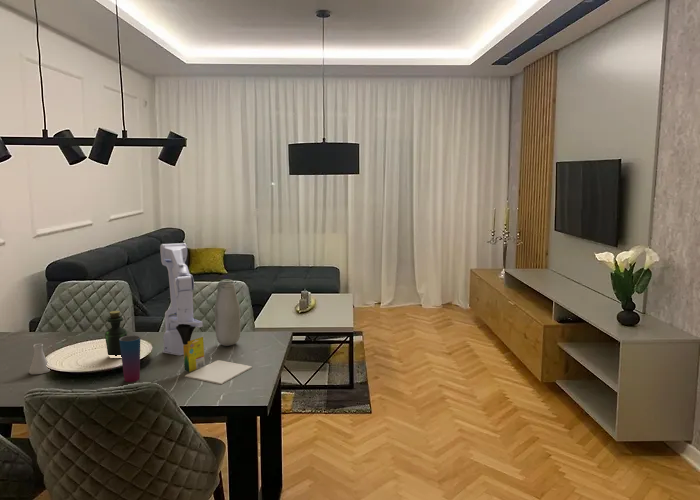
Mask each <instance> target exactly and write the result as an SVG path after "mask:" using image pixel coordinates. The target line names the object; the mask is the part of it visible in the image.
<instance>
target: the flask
mask: <svg viewBox="0 0 700 500" xmlns="http://www.w3.org/2000/svg"><path fill="white" fill-rule="evenodd" d="M32 347H33V356H32V361H31V364H30V366H29V370H28V374H30V375H42V374H46V373H49V372H50V371H51V370H50V369H48V368H47V366H46V365H47V363H48V364H49V362H48V360H47V357H46V356H45V353H44V349H43V347H44V344H43V343H35V344H33V345H32Z"/></svg>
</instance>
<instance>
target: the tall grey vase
mask: <svg viewBox="0 0 700 500" xmlns="http://www.w3.org/2000/svg"><path fill="white" fill-rule="evenodd" d="M216 289H217V290H216V292H217V293H216V299H215V303H214V321H215V323H214V324H215V337H216V340H217V342H218V343H219V345H222V346H224V347H226V346H227V347H229V346H233V345H235V344H237V343H238V341H239V340H240V338H241V306H240V301H239V299H238V296H237V292H236V283H235V281H234V280H233V279H221V280H220V281H219V282H218V283H217V286H216Z"/></svg>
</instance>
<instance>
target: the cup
mask: <svg viewBox="0 0 700 500" xmlns="http://www.w3.org/2000/svg"><path fill="white" fill-rule="evenodd" d="M119 341H120V349H121V357H122V358H121V363H122V373H123V381H124V382H127V383H134V382H137V381H139V380H140V378H141V377H140V376H141V336H140V335H135V334H133V335H127V336H124V337H121V338H120V339H119Z"/></svg>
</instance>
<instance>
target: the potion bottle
mask: <svg viewBox="0 0 700 500" xmlns="http://www.w3.org/2000/svg"><path fill="white" fill-rule="evenodd" d="M120 314H121V311H120V310H111V311H109V317H107V320H106V322H107V323H110V326H111V327H110V328H108V329H107V330H106V331H105V333H104V338H105V344H106V352H107V356H108V355H115V356H117V355H121V349H120V341H119V339H120V338H121V337H124V336H128V331H127V330H126V328H123V327H121V322H123V321H124V318H123V316H121V315H120Z"/></svg>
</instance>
